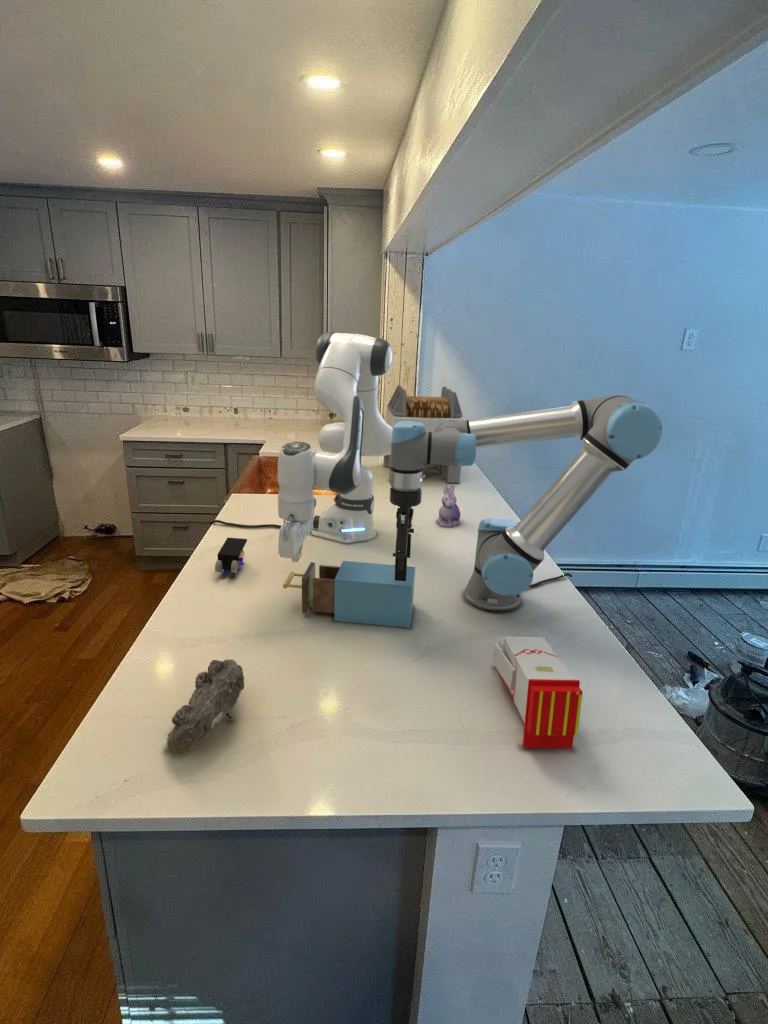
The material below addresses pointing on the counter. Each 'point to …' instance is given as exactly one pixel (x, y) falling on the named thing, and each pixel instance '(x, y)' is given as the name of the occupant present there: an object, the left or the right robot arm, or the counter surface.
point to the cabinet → (373, 594)
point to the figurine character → (230, 556)
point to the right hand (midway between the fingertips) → (402, 568)
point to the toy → (539, 691)
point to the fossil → (206, 705)
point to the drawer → (316, 588)
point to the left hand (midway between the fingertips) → (296, 559)
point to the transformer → (425, 418)
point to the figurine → (449, 508)
